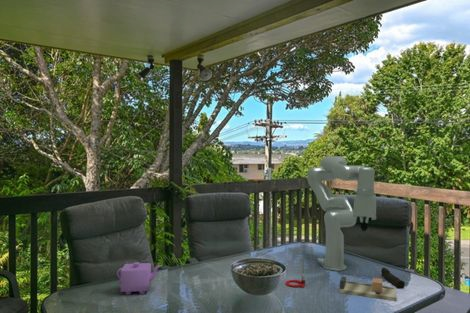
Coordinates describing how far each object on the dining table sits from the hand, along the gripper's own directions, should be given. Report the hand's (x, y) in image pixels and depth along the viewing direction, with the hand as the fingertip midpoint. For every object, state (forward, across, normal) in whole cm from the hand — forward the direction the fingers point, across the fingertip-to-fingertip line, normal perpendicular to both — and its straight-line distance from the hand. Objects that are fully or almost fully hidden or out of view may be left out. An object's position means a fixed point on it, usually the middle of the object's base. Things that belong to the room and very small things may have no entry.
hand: (364, 230), depth 172 cm
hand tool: (+26, +12, +8) cm, 30 cm away
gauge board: (+25, +3, -11) cm, 28 cm away
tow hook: (+26, -29, -17) cm, 42 cm away
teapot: (+27, -90, -56) cm, 109 cm away
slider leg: (+23, +7, -11) cm, 27 cm away
